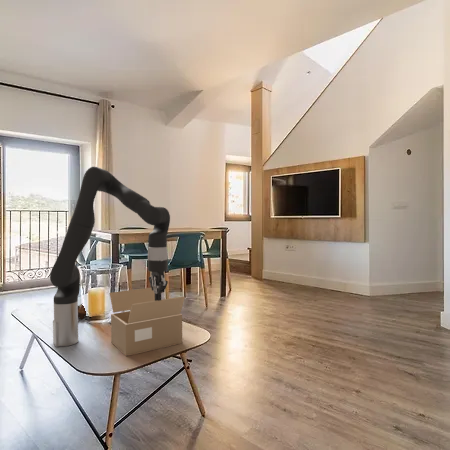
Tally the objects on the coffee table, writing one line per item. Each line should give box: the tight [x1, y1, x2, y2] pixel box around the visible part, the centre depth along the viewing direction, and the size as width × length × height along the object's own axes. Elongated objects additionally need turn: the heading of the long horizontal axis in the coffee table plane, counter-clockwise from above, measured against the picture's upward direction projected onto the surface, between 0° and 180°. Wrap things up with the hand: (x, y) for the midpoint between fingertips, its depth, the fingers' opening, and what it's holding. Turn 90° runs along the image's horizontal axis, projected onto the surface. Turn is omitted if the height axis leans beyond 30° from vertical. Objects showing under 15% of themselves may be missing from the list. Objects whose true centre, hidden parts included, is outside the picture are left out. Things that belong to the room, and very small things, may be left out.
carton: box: [110, 310, 183, 357], centre depth 148 cm, size 24×18×12 cm
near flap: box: [128, 295, 186, 323], centre depth 139 cm, size 22×9×1 cm
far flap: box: [109, 287, 155, 313], centre depth 158 cm, size 22×9×1 cm
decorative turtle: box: [78, 303, 87, 320], centre depth 186 cm, size 10×15×8 cm, turn 135°
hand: (158, 302), depth 139 cm, fingers closed
